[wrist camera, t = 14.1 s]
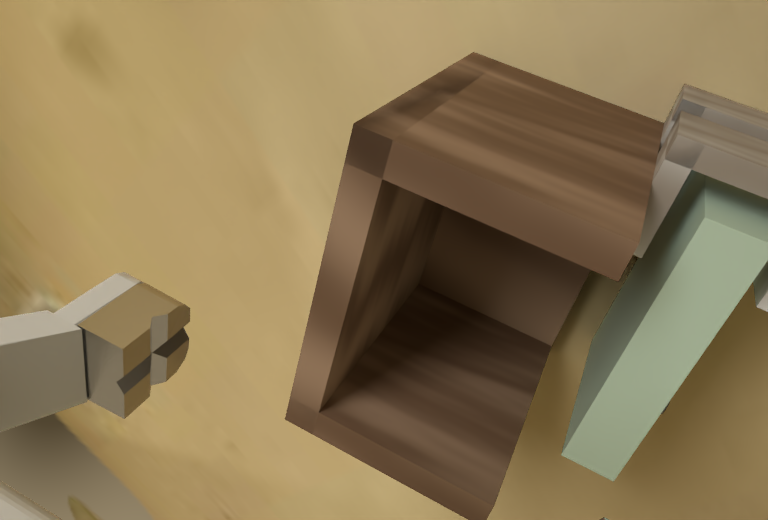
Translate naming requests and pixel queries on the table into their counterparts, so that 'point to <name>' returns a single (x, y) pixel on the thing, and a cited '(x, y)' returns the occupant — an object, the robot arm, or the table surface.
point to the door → (666, 318)
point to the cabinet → (486, 259)
